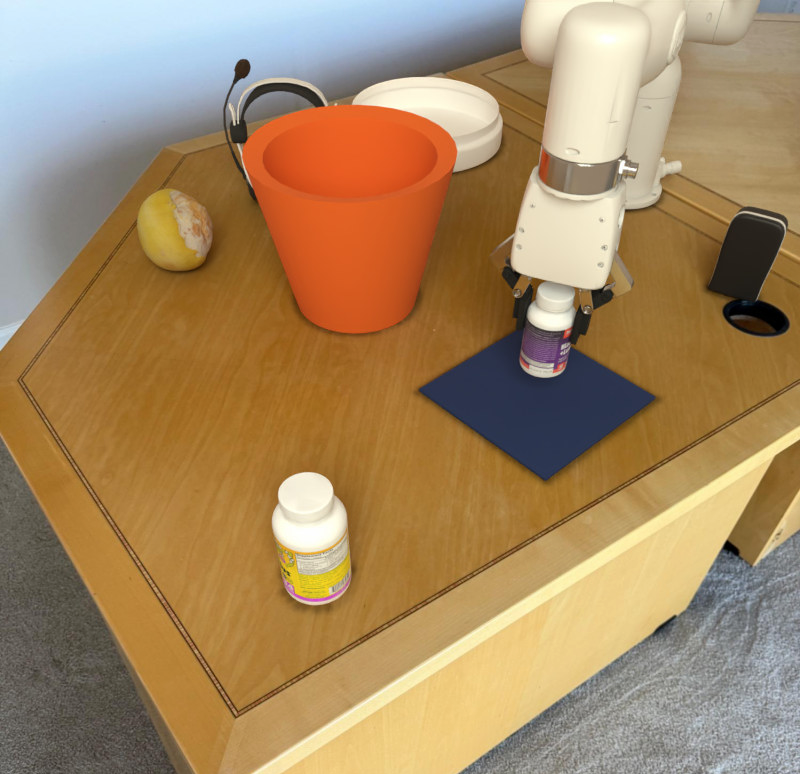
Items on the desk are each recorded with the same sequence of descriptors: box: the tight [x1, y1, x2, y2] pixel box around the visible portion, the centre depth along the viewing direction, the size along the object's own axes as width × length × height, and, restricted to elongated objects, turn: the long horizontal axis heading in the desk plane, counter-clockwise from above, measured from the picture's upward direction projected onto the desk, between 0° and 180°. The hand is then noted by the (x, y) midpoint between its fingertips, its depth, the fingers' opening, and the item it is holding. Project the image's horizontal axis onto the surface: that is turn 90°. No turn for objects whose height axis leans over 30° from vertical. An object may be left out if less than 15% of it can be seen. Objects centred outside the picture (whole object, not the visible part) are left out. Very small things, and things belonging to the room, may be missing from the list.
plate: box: [351, 76, 504, 173], centre depth 133 cm, size 27×27×6 cm
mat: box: [418, 326, 656, 482], centre depth 91 cm, size 20×20×1 cm
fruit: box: [136, 188, 214, 272], centre depth 105 cm, size 10×11×10 cm
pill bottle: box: [520, 280, 577, 378], centre depth 84 cm, size 5×5×10 cm
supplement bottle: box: [271, 471, 352, 606], centre depth 69 cm, size 7×7×13 cm
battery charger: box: [707, 205, 789, 303], centre depth 101 cm, size 7×4×11 cm, turn 60°
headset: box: [222, 58, 338, 201], centre depth 113 cm, size 17×8×20 cm, turn 91°
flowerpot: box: [242, 104, 458, 335], centre depth 96 cm, size 25×25×20 cm
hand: (548, 329), depth 84 cm, fingers closed on pill bottle, 5 cm apart
